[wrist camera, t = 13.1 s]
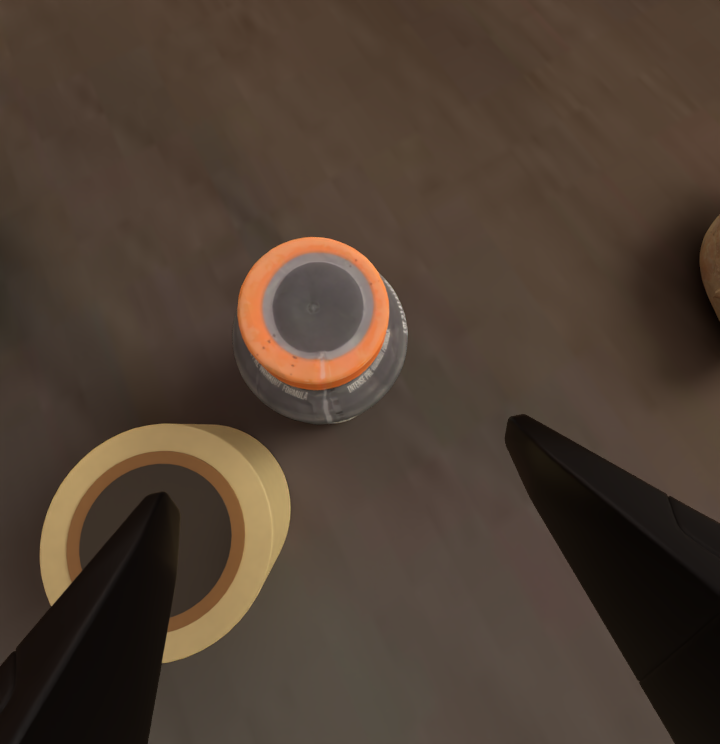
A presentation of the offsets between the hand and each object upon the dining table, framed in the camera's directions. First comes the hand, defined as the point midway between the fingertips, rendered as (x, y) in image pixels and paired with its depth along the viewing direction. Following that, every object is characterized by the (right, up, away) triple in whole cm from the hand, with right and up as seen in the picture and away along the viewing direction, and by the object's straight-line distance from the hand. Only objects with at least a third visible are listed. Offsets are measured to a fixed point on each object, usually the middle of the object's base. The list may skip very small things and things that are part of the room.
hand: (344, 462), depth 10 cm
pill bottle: (-1, +2, +11) cm, 11 cm away
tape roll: (-8, -5, +10) cm, 13 cm away
